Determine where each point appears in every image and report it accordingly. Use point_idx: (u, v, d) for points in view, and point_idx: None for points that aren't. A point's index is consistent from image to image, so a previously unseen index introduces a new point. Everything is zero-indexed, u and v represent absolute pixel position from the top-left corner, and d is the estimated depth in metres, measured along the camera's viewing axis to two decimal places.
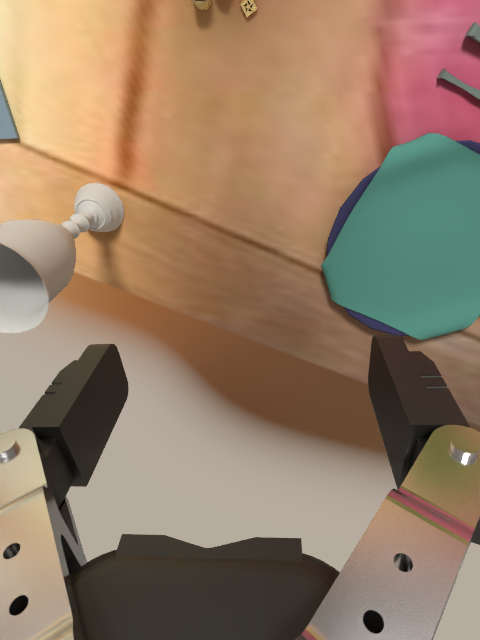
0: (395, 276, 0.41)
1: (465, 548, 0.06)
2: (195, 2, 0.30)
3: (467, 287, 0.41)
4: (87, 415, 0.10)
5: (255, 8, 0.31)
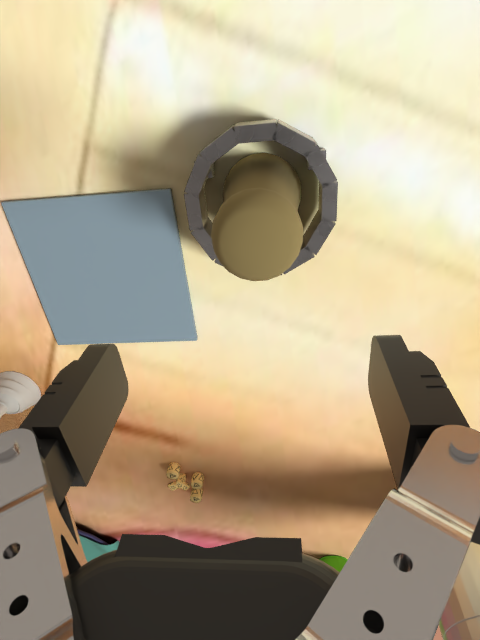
0: None
1: (465, 548, 0.06)
2: (168, 473, 0.47)
3: None
4: (87, 415, 0.10)
5: (172, 489, 0.50)
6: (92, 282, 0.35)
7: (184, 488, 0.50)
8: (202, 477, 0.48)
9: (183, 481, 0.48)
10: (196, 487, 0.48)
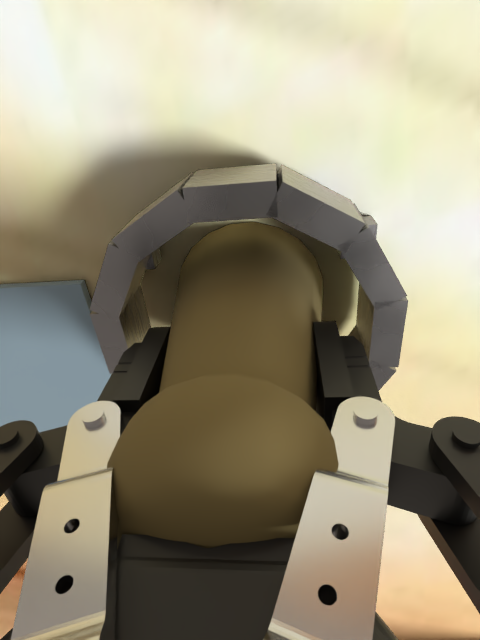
0: None
1: (386, 501, 0.06)
2: None
3: None
4: (156, 392, 0.11)
5: None
6: None
7: None
8: None
9: None
10: None
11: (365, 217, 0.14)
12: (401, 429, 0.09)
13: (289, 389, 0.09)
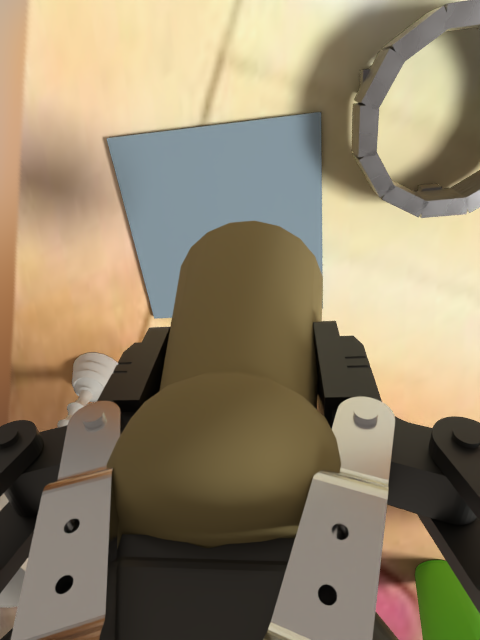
0: None
1: (386, 501, 0.06)
2: None
3: None
4: (156, 392, 0.11)
5: None
6: None
7: None
8: None
9: None
10: None
11: None
12: (401, 429, 0.09)
13: (290, 387, 0.09)
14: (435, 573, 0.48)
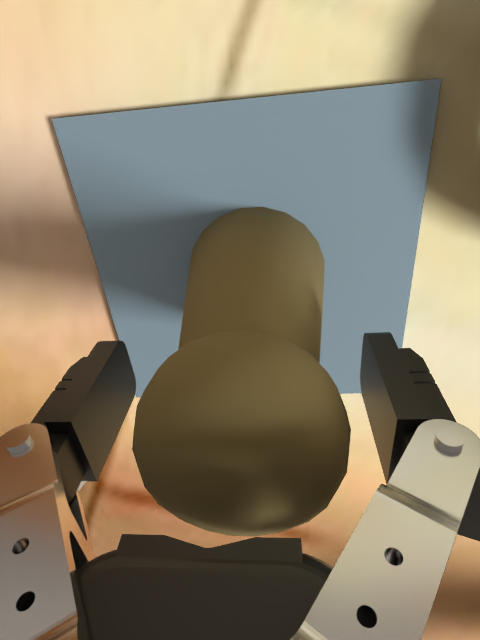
0: None
1: (453, 539, 0.06)
2: None
3: None
4: (97, 411, 0.11)
5: None
6: None
7: None
8: None
9: None
10: None
11: None
12: None
13: None
14: None
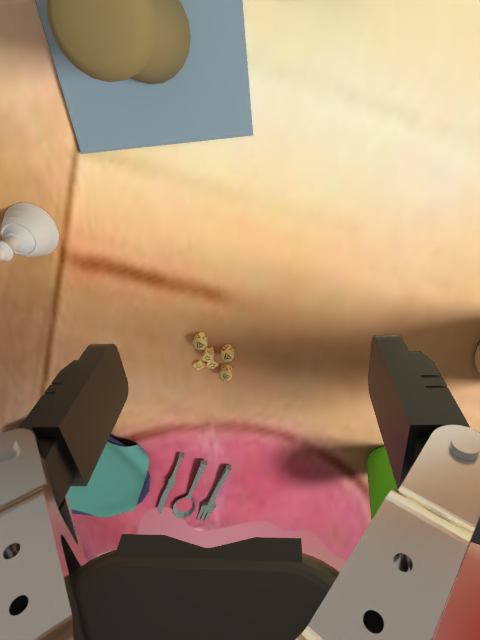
0: None
1: (465, 548, 0.06)
2: (195, 342, 0.41)
3: None
4: (87, 415, 0.10)
5: (198, 369, 0.44)
6: None
7: (212, 366, 0.44)
8: (233, 349, 0.42)
9: (212, 353, 0.42)
10: (227, 359, 0.42)
11: None
12: None
13: None
14: (385, 456, 0.48)
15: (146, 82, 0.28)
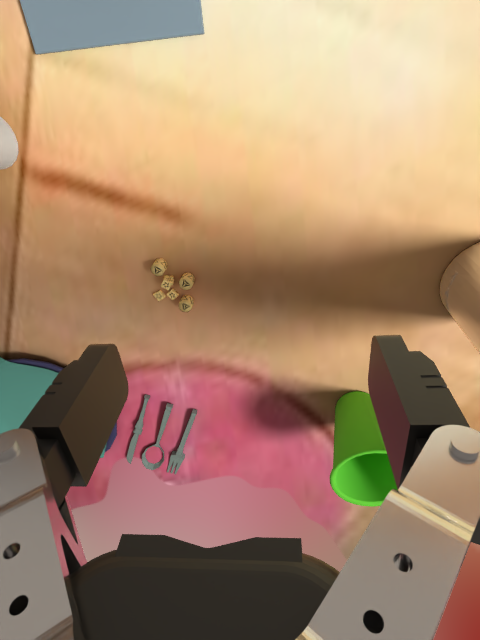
0: (18, 401, 0.53)
1: (465, 548, 0.06)
2: (153, 266, 0.41)
3: None
4: (87, 415, 0.10)
5: (158, 300, 0.44)
6: None
7: (172, 296, 0.43)
8: (192, 277, 0.42)
9: (170, 281, 0.42)
10: (185, 287, 0.42)
11: None
12: None
13: None
14: (352, 399, 0.47)
15: None
